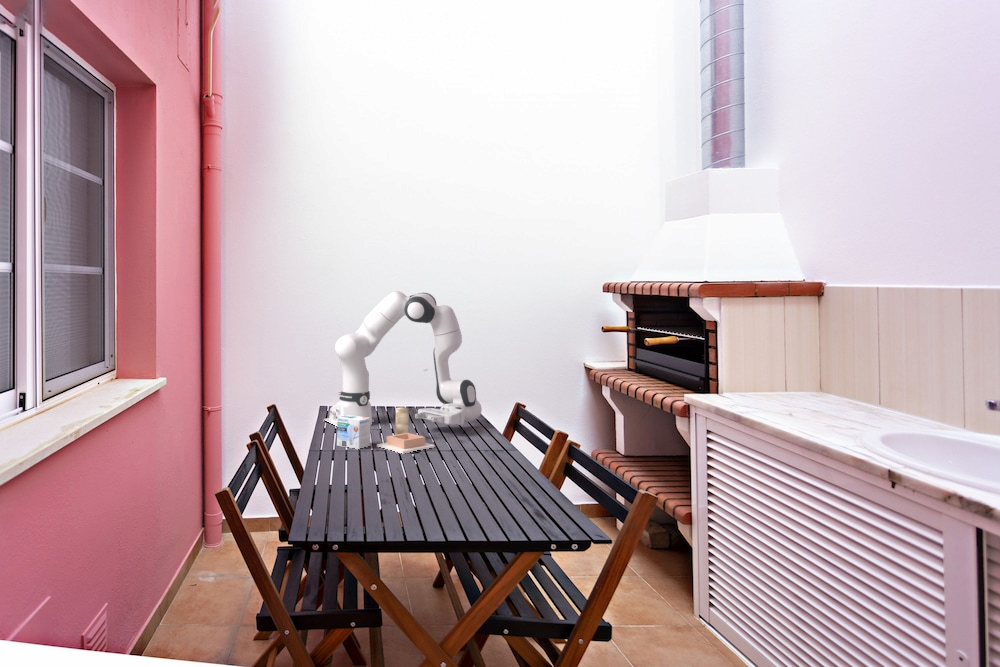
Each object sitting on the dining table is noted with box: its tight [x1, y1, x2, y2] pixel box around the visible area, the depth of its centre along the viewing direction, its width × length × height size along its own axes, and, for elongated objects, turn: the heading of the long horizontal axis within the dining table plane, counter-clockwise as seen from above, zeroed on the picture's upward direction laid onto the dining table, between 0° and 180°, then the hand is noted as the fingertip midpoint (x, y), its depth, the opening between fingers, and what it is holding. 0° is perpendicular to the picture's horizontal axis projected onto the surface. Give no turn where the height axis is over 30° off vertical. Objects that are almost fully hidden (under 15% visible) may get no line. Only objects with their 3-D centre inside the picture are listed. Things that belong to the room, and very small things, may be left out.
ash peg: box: [394, 407, 410, 435], centre depth 274 cm, size 5×5×12 cm
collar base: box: [376, 432, 436, 455], centre depth 261 cm, size 15×15×4 cm
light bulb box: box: [336, 415, 372, 450], centre depth 260 cm, size 11×7×11 cm, turn 62°
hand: (424, 418), depth 283 cm, fingers open, 8 cm apart
